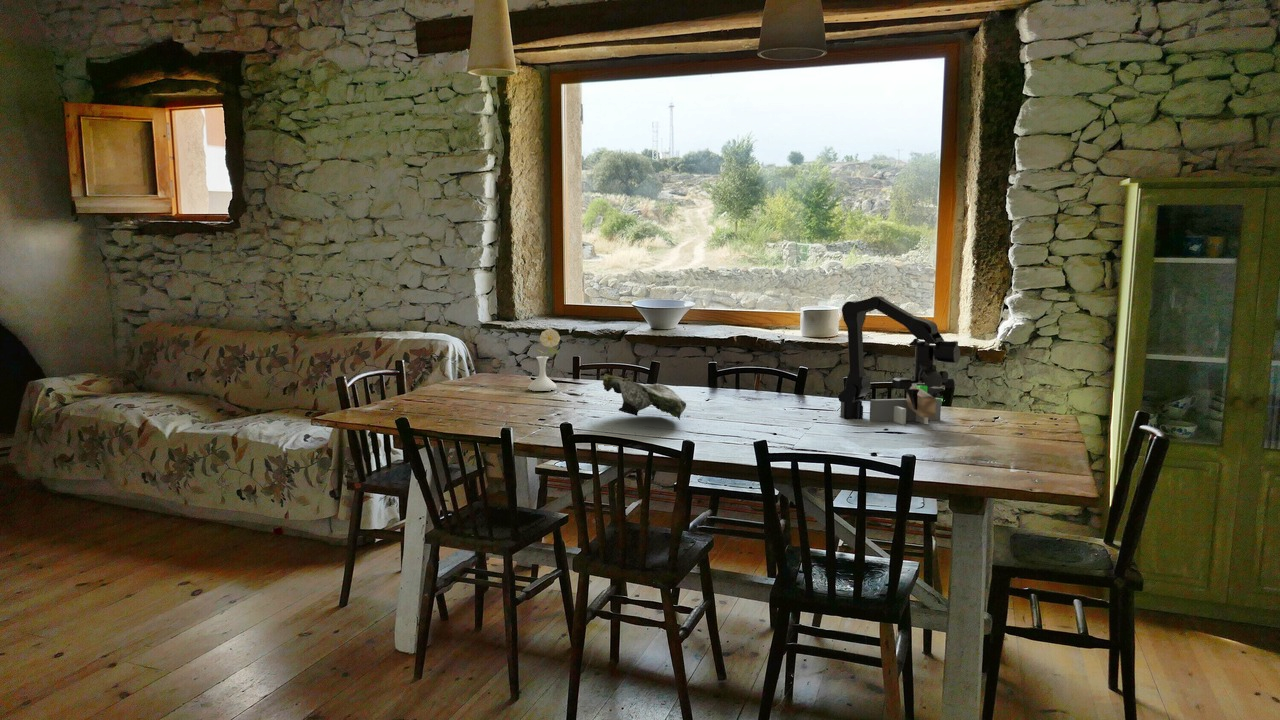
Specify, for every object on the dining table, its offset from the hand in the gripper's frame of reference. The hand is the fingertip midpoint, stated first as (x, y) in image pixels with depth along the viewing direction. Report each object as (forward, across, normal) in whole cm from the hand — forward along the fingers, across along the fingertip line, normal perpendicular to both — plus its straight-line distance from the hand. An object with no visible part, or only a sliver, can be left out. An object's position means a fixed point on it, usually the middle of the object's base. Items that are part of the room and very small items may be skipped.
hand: (922, 409), depth 276 cm
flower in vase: (+6, -115, +88) cm, 145 cm away
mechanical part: (+6, +24, +40) cm, 47 cm away
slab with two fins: (+6, 0, +8) cm, 10 cm away
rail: (+1, 0, +2) cm, 2 cm away
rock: (+5, -88, +23) cm, 91 cm away
